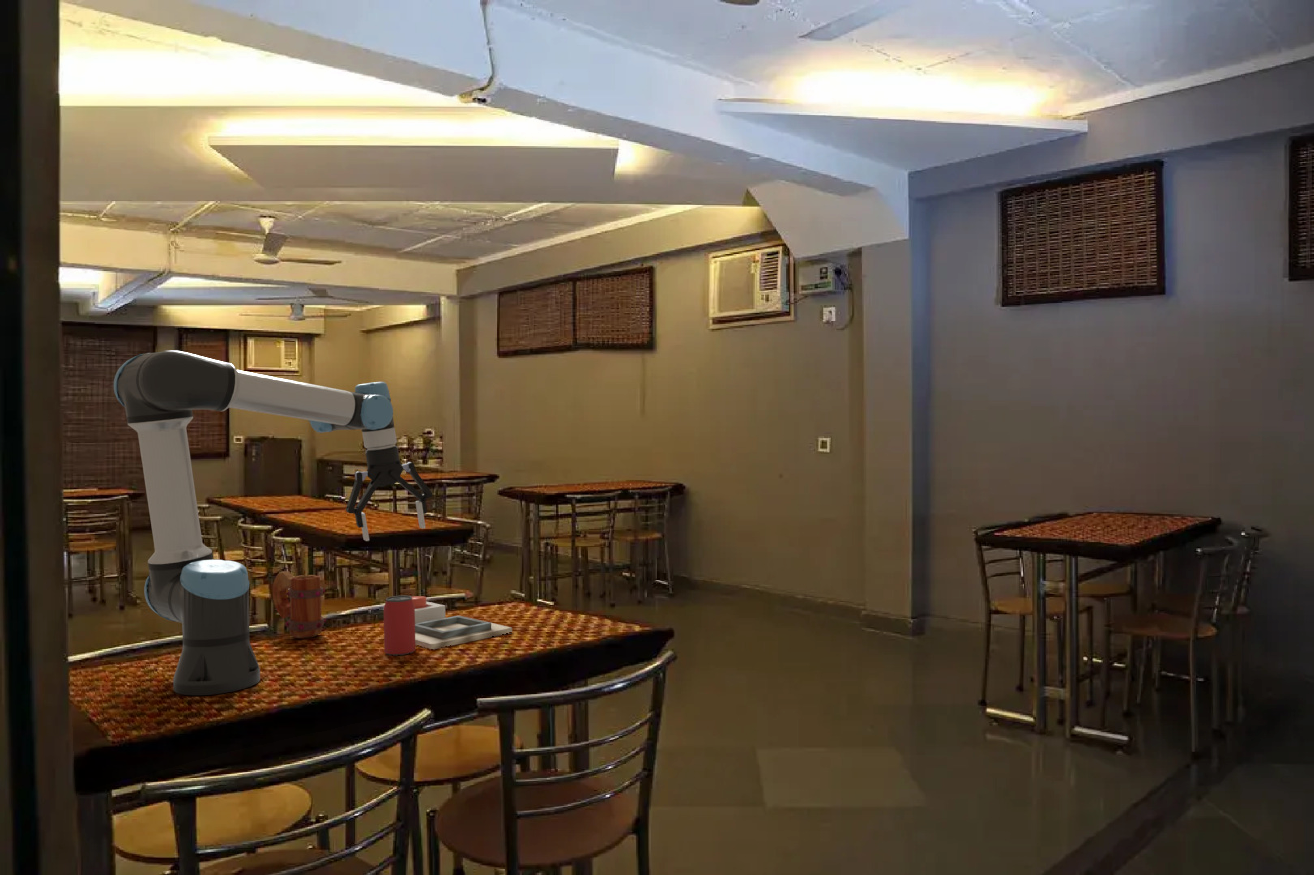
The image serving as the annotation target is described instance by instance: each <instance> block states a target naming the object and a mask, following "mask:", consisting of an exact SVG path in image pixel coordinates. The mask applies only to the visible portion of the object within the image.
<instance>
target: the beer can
mask: <svg viewBox="0 0 1314 875" xmlns="http://www.w3.org/2000/svg"><path fill="white" fill-rule="evenodd" d="M412 597H413V596H412V595H395V596H394V595H393V596H388V597H386V598H385V603H384V606H383V637H384V638H383V643H384V644H383V645H384V646H383V647H384V653H385V654H386V655H388V656H392V655H393V656H394V657H397V656H398V655H400V656H406V655H405V654H407V655H410V654H412V653H414V652H415V650H416V645H415V606H414V603H413V601H412ZM409 653H410V654H409ZM398 657H399V656H398Z"/></svg>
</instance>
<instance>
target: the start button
mask: <svg viewBox="0 0 1314 875" xmlns="http://www.w3.org/2000/svg"><path fill="white" fill-rule="evenodd" d="M411 597H412V601H413V603H414V606H415V609H418V608H424V607H426V601H427V597H426V596H421V595H418V596H417V595H416V596H415V595H414V596H411Z"/></svg>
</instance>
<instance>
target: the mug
mask: <svg viewBox="0 0 1314 875" xmlns="http://www.w3.org/2000/svg"><path fill="white" fill-rule="evenodd" d="M288 589H289V590H288ZM324 593H326V589H325V588H323V587H322V586H321V576H320V575H315V574H308V575H306V576H305V575H296V576H293V574H292V573H291V572H290V571H287V570H286V571H281V572H279V573H278V574H277V575H276V577H275V579H274V580H273V584H272V600H273V603H274V607H275V609H276V611H277V613H278V615H279V616H280V617H281V618H282V619H286V618H288V619H287V621H285V623H284V624H285V627H286V628H288V629H289V634H290V636H291V637H293V638H295V639H299V640H300V639H303V640H304V639H309V638H310V639H311V638H314V637H317V636H318V635H320V634H321V633H322V630H323V627H324V624H326V623H327V619H326V618H324V617H323V616H322V596H323V594H324ZM288 597H289V598H290V601H289V599H288Z"/></svg>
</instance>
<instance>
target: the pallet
mask: <svg viewBox="0 0 1314 875" xmlns="http://www.w3.org/2000/svg"><path fill="white" fill-rule="evenodd" d="M509 632H512V633H513V627H510V626H506V625H502V624H497V623H493V622H491V621H484V620H481V619H476V618H471V617H466V616H462V615H454V616H450V617H445V618H443V619H438V620H432V621H427V622H421V623H416V624H415V646H417V645H420V646H422V647H421V648H424V647H425V648H424V649H427V648H429V650H431V649H433V650H436V649H440V648H441V647H442V648H446V647H445V646H447V647H450V645H451V646H456V645H460V644H465V643H470V642H475V641H478V640H479V641H480V640H484V639H488V638H493V637H492V636H494V637H498V636H503V635H502V634H504V635H507V634H506V633H508V634H510V633H509ZM420 646H419V647H420ZM442 648H441V649H442Z"/></svg>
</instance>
